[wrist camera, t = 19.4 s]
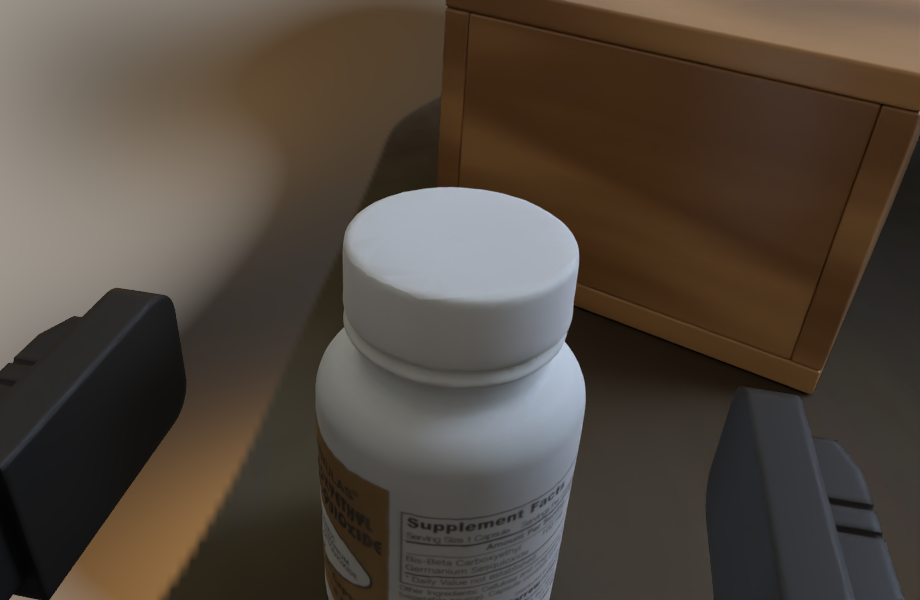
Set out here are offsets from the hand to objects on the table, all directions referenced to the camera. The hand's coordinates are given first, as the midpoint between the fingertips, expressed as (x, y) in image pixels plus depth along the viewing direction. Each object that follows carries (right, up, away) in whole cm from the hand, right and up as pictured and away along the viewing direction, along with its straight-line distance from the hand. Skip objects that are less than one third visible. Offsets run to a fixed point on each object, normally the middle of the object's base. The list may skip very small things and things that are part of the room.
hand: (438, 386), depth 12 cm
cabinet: (+8, +4, +17) cm, 20 cm away
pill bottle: (0, -4, +5) cm, 6 cm away
